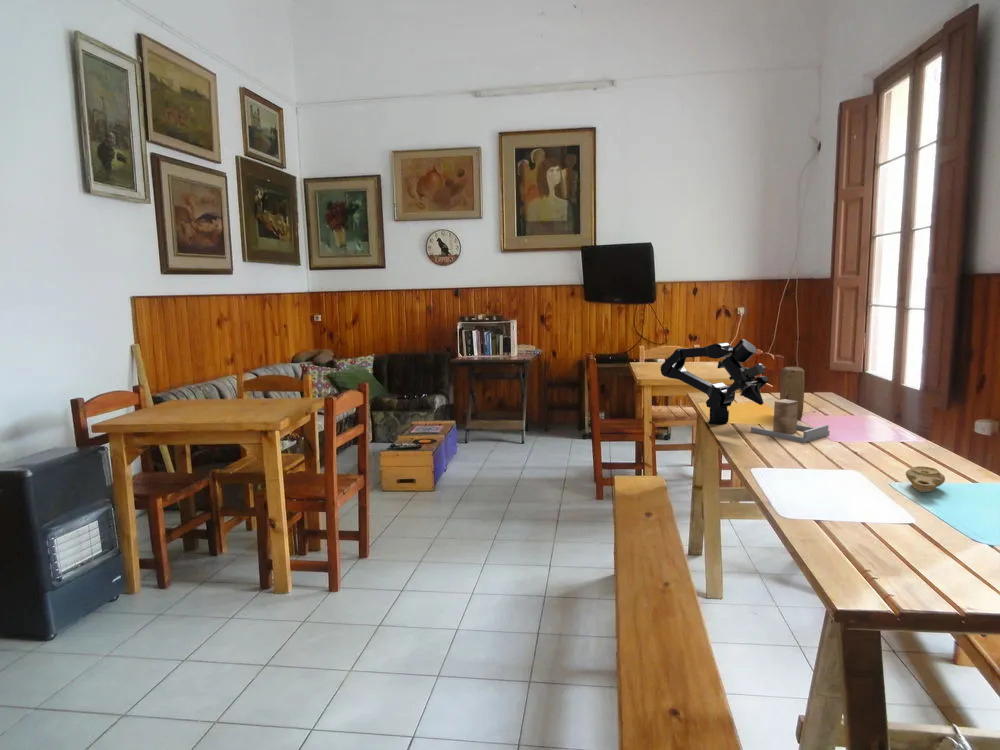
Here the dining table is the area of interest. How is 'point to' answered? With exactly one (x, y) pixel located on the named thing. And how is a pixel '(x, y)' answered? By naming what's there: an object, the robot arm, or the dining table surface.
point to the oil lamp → (925, 478)
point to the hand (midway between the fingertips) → (762, 404)
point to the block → (793, 387)
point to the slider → (785, 416)
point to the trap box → (808, 435)
